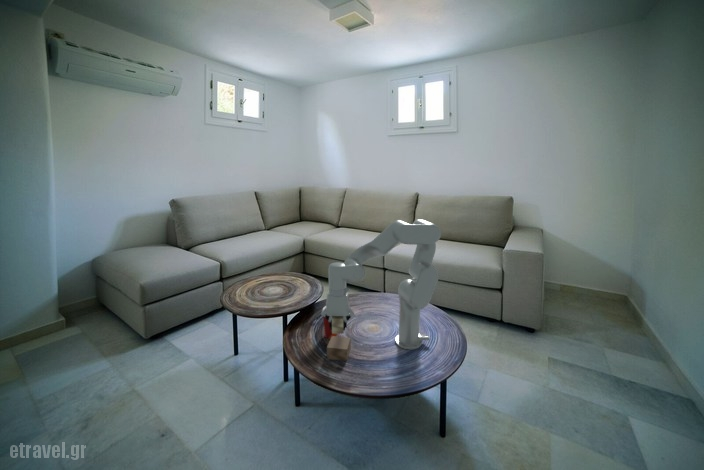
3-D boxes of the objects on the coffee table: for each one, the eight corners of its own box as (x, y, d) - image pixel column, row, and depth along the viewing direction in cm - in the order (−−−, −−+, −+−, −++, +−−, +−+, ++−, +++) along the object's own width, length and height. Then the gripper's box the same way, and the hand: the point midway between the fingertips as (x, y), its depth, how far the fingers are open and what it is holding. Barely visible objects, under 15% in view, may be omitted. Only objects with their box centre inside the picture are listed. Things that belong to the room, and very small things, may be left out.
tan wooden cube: (350, 349, 141) (350, 337, 140) (347, 361, 133) (346, 349, 131) (332, 347, 143) (331, 336, 141) (327, 359, 134) (326, 347, 133)
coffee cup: (337, 340, 148) (336, 312, 144) (320, 339, 149) (319, 311, 146) (341, 331, 156) (340, 305, 152) (325, 330, 157) (324, 303, 154)
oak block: (343, 327, 137) (343, 313, 135) (343, 333, 132) (343, 319, 131) (332, 327, 137) (332, 313, 136) (332, 333, 132) (331, 319, 131)
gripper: (357, 287, 134) (357, 324, 138) (319, 287, 134) (320, 324, 138) (357, 294, 127) (357, 333, 131) (316, 294, 127) (318, 333, 131)
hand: (338, 328), depth 135 cm, fingers closed on oak block, 5 cm apart
